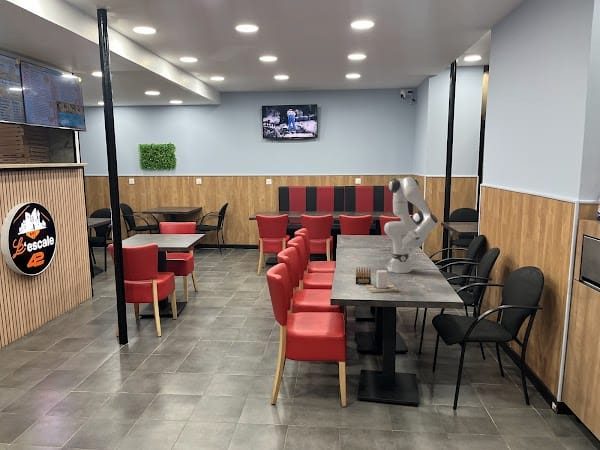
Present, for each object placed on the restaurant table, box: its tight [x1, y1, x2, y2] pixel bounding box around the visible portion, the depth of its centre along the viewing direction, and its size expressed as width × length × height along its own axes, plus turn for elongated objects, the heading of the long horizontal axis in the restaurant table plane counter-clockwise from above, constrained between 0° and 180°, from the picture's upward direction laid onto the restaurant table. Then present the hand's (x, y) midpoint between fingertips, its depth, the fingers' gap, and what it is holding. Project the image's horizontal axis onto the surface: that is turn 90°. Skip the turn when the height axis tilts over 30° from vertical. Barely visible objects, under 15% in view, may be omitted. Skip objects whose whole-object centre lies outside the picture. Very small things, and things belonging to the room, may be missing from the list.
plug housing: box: [375, 269, 388, 289], centre depth 296 cm, size 5×6×11 cm
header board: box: [364, 283, 399, 294], centre depth 297 cm, size 16×18×1 cm
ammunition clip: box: [355, 266, 372, 285], centre depth 309 cm, size 11×2×12 cm, turn 80°
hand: (406, 249), depth 306 cm, fingers open, 8 cm apart
